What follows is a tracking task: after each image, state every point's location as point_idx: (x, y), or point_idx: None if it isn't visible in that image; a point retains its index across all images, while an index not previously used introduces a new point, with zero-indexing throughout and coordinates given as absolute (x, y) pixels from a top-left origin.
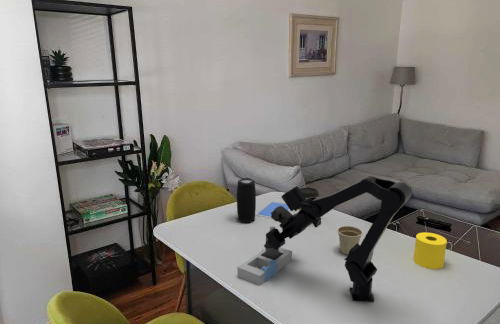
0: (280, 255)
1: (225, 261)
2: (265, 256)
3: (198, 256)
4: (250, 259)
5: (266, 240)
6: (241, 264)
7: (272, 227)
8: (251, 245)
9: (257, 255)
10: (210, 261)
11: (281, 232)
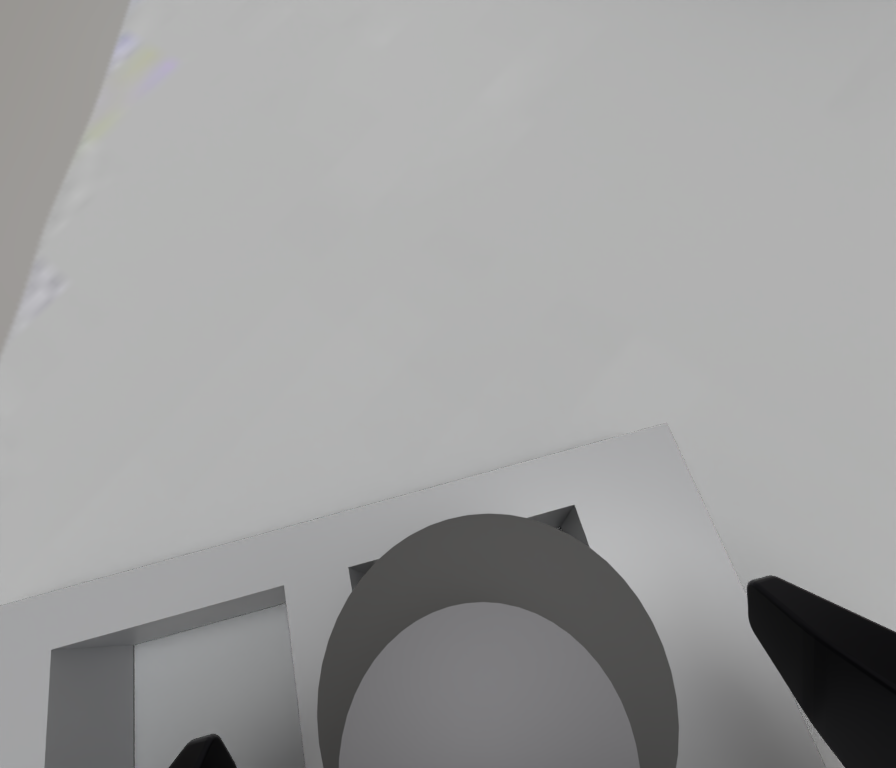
0: None
1: (182, 334)
2: None
3: (111, 170)
4: (181, 574)
5: (335, 646)
6: (13, 604)
7: (492, 750)
8: (555, 240)
9: (319, 549)
10: (107, 269)
11: (889, 690)
